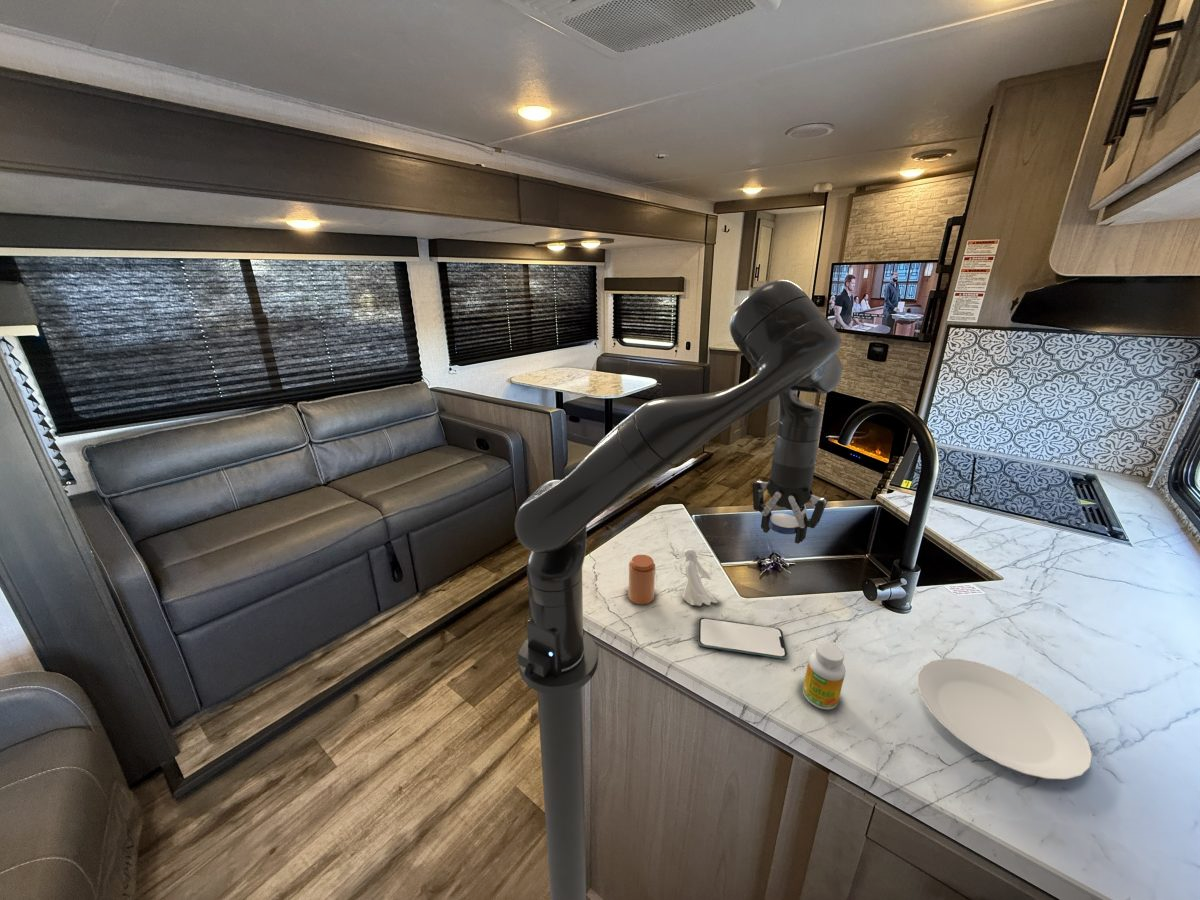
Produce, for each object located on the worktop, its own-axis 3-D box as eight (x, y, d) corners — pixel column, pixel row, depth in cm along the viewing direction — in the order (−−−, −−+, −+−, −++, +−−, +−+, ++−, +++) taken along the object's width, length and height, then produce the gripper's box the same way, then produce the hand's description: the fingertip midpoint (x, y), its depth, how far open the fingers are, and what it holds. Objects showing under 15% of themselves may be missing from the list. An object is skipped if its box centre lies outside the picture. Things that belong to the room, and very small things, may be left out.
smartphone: (698, 647, 87) (787, 660, 83) (698, 645, 86) (788, 658, 83) (698, 618, 94) (781, 630, 90) (698, 616, 94) (781, 627, 90)
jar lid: (778, 517, 95) (779, 510, 95) (804, 527, 91) (805, 521, 91) (762, 526, 92) (763, 519, 91) (789, 537, 88) (790, 530, 87)
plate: (947, 650, 86) (950, 641, 85) (1105, 740, 69) (1111, 729, 68) (889, 703, 75) (892, 692, 74) (1058, 823, 59) (1065, 811, 58)
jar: (647, 607, 97) (648, 571, 94) (623, 599, 100) (624, 563, 96) (657, 593, 101) (659, 557, 98) (635, 585, 104) (636, 550, 101)
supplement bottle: (801, 703, 75) (811, 657, 72) (803, 678, 80) (812, 634, 76) (837, 715, 73) (849, 668, 70) (837, 690, 78) (848, 644, 74)
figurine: (684, 584, 104) (687, 538, 100) (719, 592, 101) (724, 546, 97) (676, 605, 98) (679, 557, 93) (714, 614, 95) (719, 565, 91)
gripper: (840, 462, 85) (825, 541, 90) (764, 445, 93) (755, 518, 99) (828, 474, 79) (812, 557, 85) (749, 455, 88) (739, 531, 94)
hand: (781, 535), depth 92 cm, fingers closed on jar lid, 5 cm apart
